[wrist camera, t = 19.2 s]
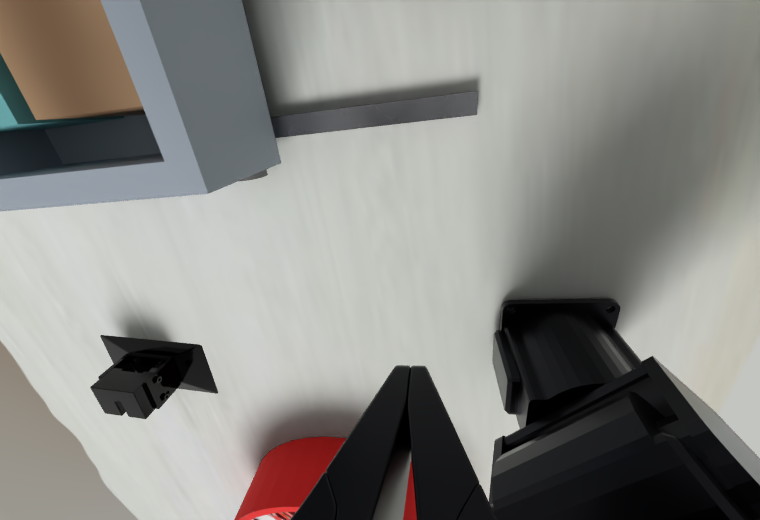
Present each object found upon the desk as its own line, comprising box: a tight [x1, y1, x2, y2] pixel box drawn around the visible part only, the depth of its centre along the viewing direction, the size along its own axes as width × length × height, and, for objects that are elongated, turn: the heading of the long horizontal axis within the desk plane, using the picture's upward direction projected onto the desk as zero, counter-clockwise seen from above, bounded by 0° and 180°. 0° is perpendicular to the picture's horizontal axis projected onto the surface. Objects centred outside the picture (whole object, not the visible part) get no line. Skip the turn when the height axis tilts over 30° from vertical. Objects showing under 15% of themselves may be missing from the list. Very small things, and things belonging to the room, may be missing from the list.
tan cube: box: [0, 0, 145, 120], centre depth 12 cm, size 4×4×4 cm
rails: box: [270, 91, 477, 138], centre depth 15 cm, size 23×8×1 cm, turn 96°
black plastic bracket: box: [91, 335, 218, 419], centre depth 26 cm, size 12×7×5 cm, turn 90°
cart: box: [0, 0, 281, 211], centre depth 13 cm, size 13×12×7 cm
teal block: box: [0, 53, 124, 132], centre depth 13 cm, size 4×4×4 cm
